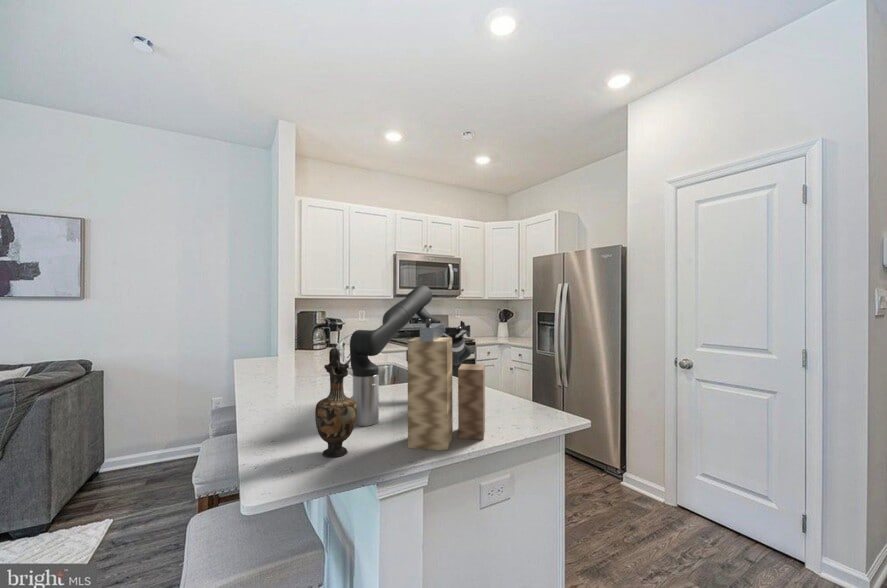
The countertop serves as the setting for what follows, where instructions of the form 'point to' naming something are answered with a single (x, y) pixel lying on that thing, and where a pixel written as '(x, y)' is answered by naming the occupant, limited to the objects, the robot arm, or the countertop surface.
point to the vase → (335, 409)
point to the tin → (431, 331)
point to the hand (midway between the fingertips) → (450, 322)
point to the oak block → (430, 394)
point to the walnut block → (471, 401)
